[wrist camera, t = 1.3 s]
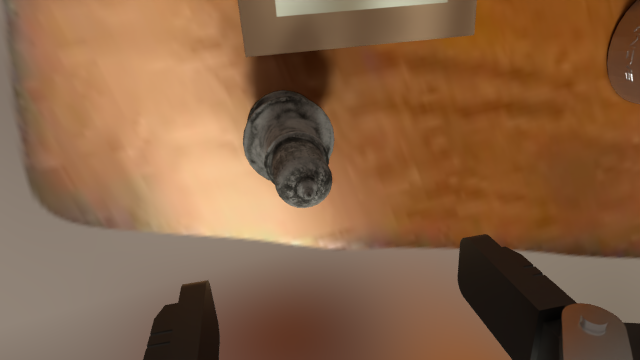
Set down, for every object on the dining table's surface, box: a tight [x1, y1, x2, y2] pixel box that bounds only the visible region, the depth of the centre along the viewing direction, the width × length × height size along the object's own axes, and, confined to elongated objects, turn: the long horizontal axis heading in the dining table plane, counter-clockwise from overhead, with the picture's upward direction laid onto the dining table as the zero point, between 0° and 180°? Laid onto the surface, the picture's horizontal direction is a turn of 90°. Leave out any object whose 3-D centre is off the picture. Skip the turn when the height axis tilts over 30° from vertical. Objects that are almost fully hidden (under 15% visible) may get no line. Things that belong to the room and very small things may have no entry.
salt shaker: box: [243, 90, 334, 208], centre depth 24 cm, size 6×6×12 cm
